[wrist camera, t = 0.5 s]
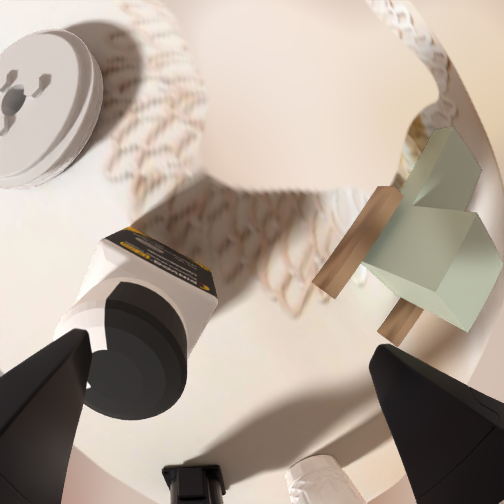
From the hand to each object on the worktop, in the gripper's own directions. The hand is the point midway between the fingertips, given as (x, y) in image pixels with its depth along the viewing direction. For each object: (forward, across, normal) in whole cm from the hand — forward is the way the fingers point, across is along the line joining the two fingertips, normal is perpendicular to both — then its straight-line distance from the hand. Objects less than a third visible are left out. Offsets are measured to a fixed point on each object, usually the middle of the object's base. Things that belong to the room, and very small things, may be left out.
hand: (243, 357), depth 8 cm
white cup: (+9, -14, +28) cm, 33 cm away
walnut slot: (+14, -15, +2) cm, 21 cm away
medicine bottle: (+14, +4, +6) cm, 16 cm away
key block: (+16, -18, -4) cm, 24 cm away
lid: (+17, +16, -7) cm, 24 cm away
